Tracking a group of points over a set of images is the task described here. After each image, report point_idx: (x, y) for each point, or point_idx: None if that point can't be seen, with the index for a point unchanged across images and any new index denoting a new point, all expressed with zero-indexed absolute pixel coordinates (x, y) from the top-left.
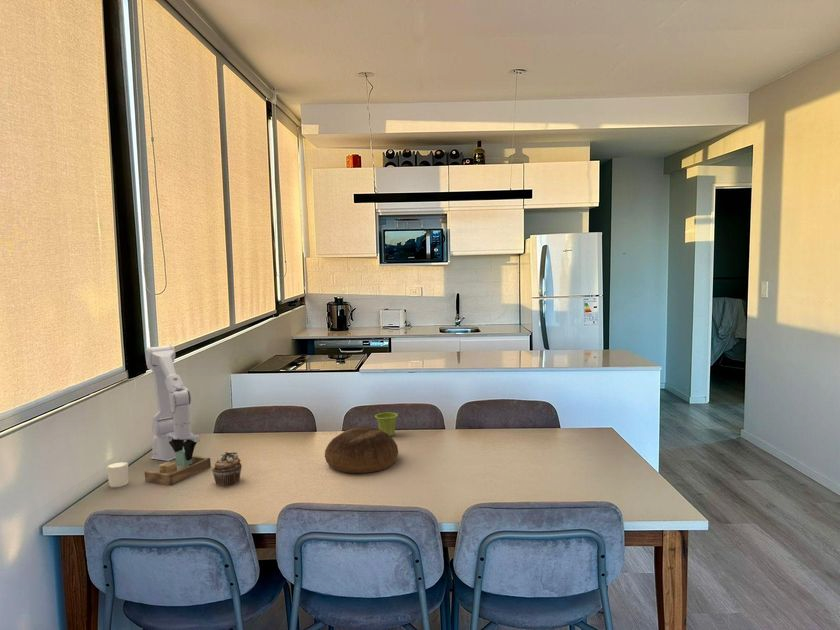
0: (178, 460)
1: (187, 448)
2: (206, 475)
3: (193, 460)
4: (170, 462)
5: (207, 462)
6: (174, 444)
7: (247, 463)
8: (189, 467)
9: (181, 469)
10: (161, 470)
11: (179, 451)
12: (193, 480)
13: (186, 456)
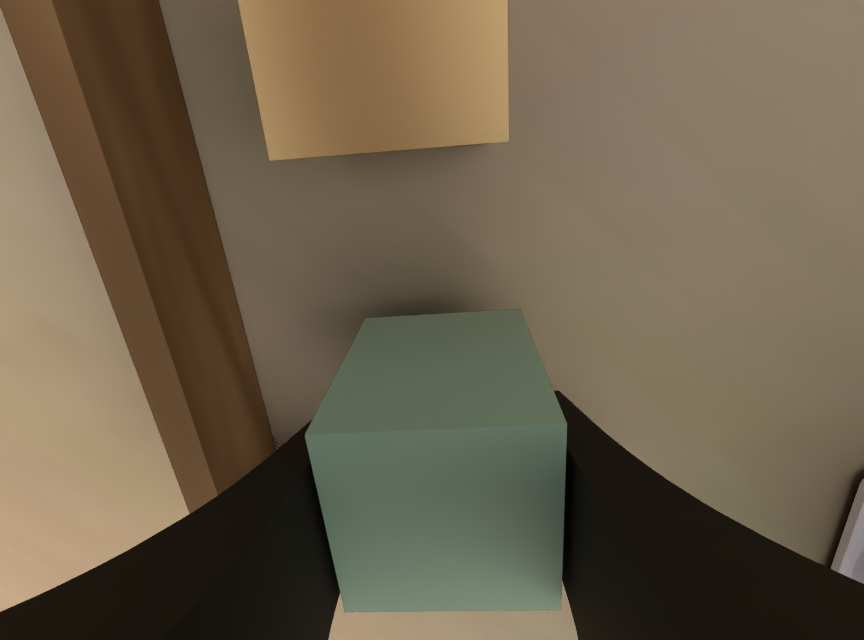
0: (468, 345)
1: (118, 559)
2: (65, 313)
3: None
4: (406, 121)
5: None
6: (665, 629)
7: None
8: (88, 230)
9: (72, 81)
10: None
11: (506, 490)
12: (17, 130)
13: None
